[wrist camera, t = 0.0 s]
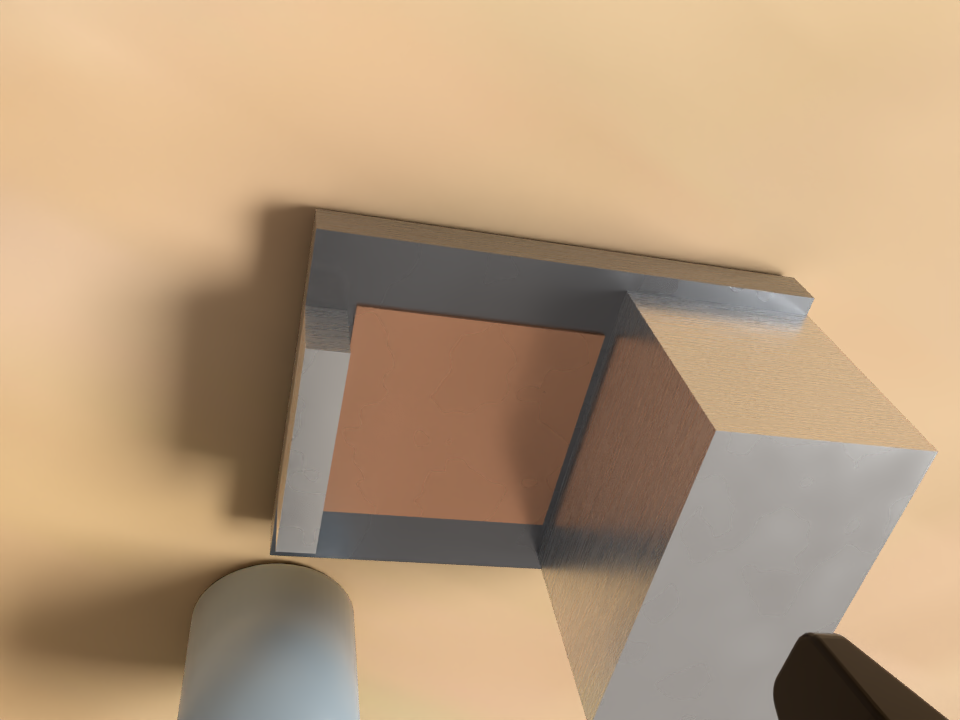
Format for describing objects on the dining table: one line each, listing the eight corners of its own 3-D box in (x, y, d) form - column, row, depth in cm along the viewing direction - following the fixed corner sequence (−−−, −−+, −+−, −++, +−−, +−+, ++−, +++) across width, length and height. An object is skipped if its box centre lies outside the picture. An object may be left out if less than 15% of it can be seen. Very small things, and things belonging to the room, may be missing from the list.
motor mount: (676, 549, 30) (769, 741, 24) (271, 526, 27) (261, 741, 21) (793, 277, 25) (949, 432, 19) (316, 208, 22) (319, 368, 16)
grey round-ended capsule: (342, 677, 31) (348, 851, 25) (186, 674, 29) (161, 857, 24) (365, 567, 28) (377, 736, 23) (196, 559, 27) (171, 735, 22)
